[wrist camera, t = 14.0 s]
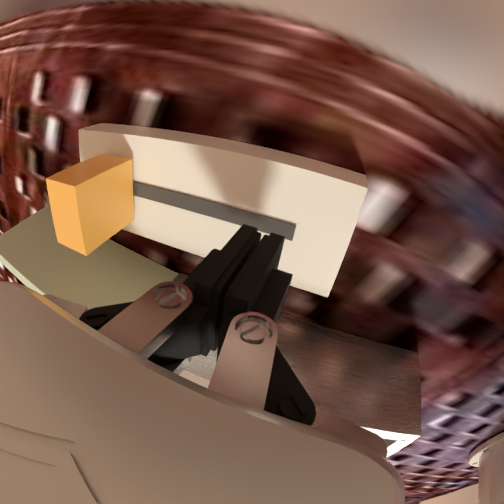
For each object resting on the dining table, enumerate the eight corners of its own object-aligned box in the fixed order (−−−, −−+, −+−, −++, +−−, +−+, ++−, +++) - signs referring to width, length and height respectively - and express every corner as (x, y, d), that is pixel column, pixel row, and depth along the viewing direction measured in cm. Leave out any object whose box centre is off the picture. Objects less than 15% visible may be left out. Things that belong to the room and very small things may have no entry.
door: (191, 293, 20) (134, 369, 14) (49, 216, 22) (-9, 256, 16) (194, 278, 19) (132, 357, 13) (47, 203, 21) (-13, 243, 15)
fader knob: (132, 159, 14) (75, 186, 10) (134, 219, 16) (86, 256, 12) (101, 153, 14) (45, 178, 11) (105, 210, 16) (57, 242, 13)
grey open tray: (418, 352, 17) (420, 435, 12) (336, 436, 26) (324, 488, 21) (198, 284, 20) (147, 352, 15) (197, 392, 29) (171, 439, 24)
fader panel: (366, 175, 13) (368, 189, 11) (331, 275, 16) (327, 298, 14) (101, 122, 16) (77, 130, 14) (105, 204, 19) (85, 216, 17)
